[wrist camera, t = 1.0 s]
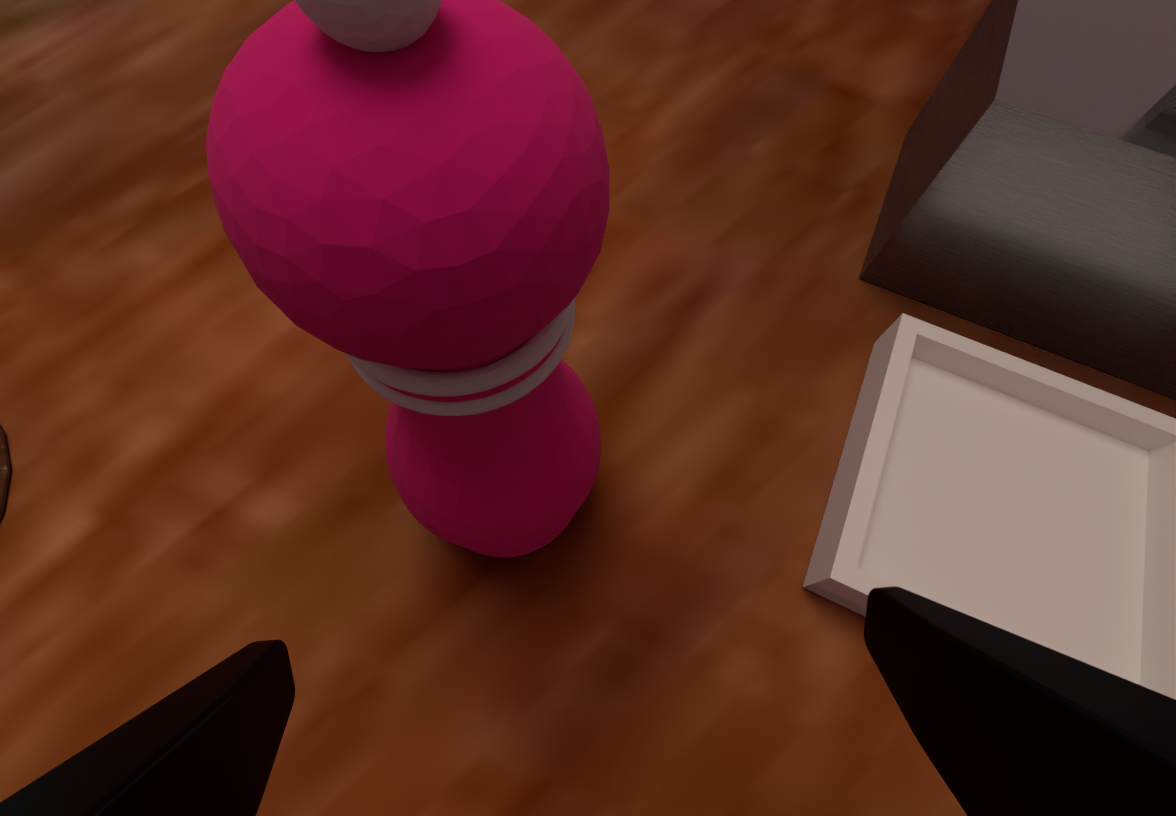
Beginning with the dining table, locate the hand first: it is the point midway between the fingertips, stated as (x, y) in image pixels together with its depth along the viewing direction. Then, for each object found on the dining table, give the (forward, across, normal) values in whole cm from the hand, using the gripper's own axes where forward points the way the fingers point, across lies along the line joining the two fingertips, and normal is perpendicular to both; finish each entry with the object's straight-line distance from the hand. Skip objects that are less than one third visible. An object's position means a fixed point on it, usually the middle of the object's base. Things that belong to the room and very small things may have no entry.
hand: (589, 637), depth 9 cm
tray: (+13, -18, +6) cm, 23 cm away
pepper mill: (+15, +2, +4) cm, 15 cm away
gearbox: (+22, -26, -5) cm, 34 cm away
